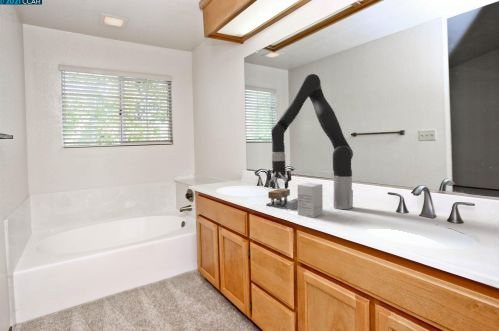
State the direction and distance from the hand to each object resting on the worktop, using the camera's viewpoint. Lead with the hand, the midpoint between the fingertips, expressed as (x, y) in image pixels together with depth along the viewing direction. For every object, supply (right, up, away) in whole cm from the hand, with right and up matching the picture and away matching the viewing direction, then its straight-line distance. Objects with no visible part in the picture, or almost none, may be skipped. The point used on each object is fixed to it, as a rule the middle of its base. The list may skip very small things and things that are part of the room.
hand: (279, 188), depth 158 cm
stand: (+8, -10, -6) cm, 14 cm away
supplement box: (+13, -11, -22) cm, 28 cm away
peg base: (0, -9, +1) cm, 9 cm away
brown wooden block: (0, -5, +1) cm, 5 cm away
